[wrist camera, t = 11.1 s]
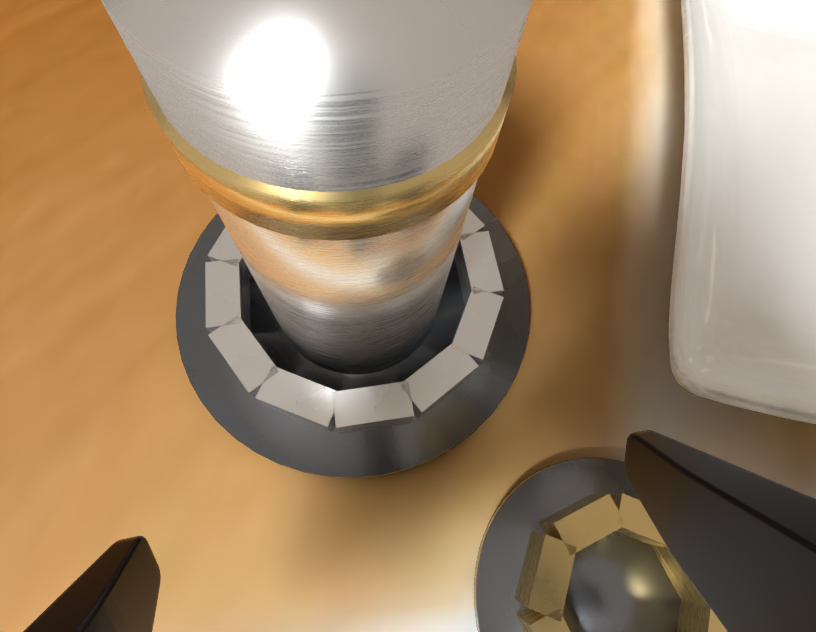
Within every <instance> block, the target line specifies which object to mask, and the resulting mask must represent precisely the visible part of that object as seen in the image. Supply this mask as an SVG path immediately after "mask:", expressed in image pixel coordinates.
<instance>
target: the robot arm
mask: <svg viewBox="0 0 816 632" xmlns="http://www.w3.org/2000/svg"><path fill="white" fill-rule="evenodd" d="M624 469H625V474H626V477H627V479H628V481H629V483H630V484H631V486H632V488H633V489H634V491H635V493H636V495H637V496H638V498H639V500H640V501H641V503H642V505H643V507H644V508H645V510H646V512H647V513H648V515H649V517H650V519H651V520H652V522H653V524H654V525H655V527H656V529H657V530H658V532H659V534H660V536H661V537H662V539H663V541H664V542H665V544H666V545H667V547H668V549H669V550H670V552H671V553H672V555H673V556H674V558H675V559H676V561H677V562H678V563H679V565H680V566H681V568H682V569H683V570H684V572H685V573H686V575H687V576H688V577H689V579H690V580H691V582H692V583H693V584H694V586H695V587H696V588H697V590H698V591H699V593H700V594H701V595H702V597H703V598H704V600H705V601H706V602H707V604H708V605H709V607H710V608H711V609H712V611H713V612H714V613H715V615H716V616H717V618H718V619H719V620H720V622H721V623H722V625H723V626H724V627H725V629H726V630H727V632H816V499H815V498H812V497H810V496H807V495H805V494H803V493H800V492H798V491H795V490H793V489H791V488H788V487H786V486H783V485H781V484H779V483H776V482H774V481H772V480H769V479H767V478H764V477H762V476H760V475H757V474H755V473H752V472H750V471H748V470H745V469H743V468H740V467H738V466H736V465H733V464H731V463H728V462H726V461H724V460H721V459H719V458H716V457H714V456H712V455H709V454H707V453H704V452H702V451H700V450H697V449H695V448H692V447H690V446H688V445H685V444H683V443H680V442H678V441H676V440H673V439H671V438H668V437H666V436H664V435H661V434H659V433H656V432H654V431H651V430H646V431H641V432H636V433H632V434H630V435H629V437H628V438H627V445H626V454H625V464H624ZM159 587H160V569H159V566H158V564H157V562H156V559H155V557H154V555H153V553H152V550H151V548H150V546H149V543H148V541H147V540H146V538H144V537H143V536H136V537H131V538H126V539H122V540H119V541H117V542H115V543H114V544H113V545H112V546H111V547H109V548H108V549H107V550H106V551H105V552H104V553H103V554H102V555H101V556H100V557H99V558H98V559H97V560H96V561H95V562H94V563H93V564H92V565H91V566H90V567H89V568H88V569H87V570H86V571H85V572H84V573H83V574H82V575H81V576H80V577H79V578H78V579H77V580H76V581H75V582H74V583H73V584H72V585H71V586H70V587H69V588H67V589H66V590H65V591H64V592H63V593H62V594H61V595H60V596H59V597H58V598H57V599H56V600H55V601H54V602H53V603H52V604H51V605H50V606H49V607H48V608H47V609H46V610H45V611H44V612H43V613H42V614H41V615H40V616H39V617H38V618H37V619H36V620H35V621H34V622H33V623H32V624H31V625H30V626H29V627H28V628H27V629H26V630H24V631H23V632H152V630H153V624H154V617H155V611H156V605H157V599H158V593H159Z"/></svg>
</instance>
